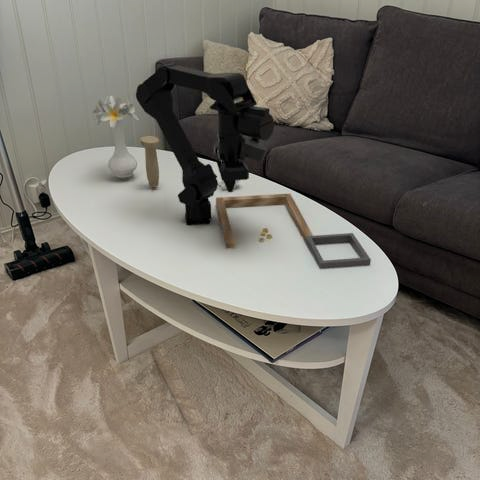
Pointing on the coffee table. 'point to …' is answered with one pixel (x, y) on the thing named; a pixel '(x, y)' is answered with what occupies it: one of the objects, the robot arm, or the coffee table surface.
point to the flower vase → (117, 133)
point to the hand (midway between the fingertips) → (230, 191)
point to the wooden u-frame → (259, 201)
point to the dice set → (264, 235)
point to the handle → (151, 159)
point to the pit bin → (334, 239)
